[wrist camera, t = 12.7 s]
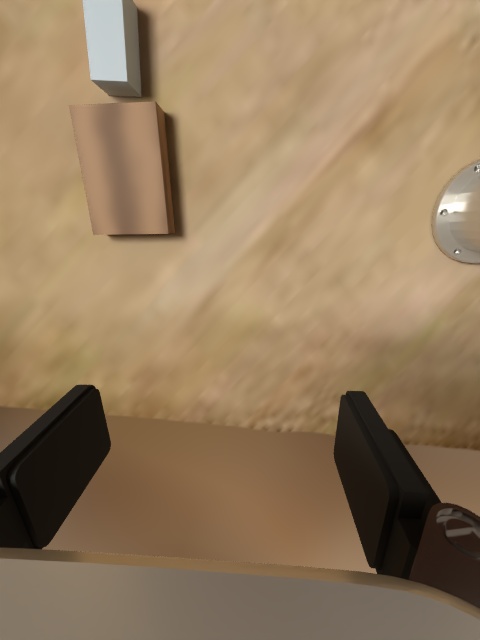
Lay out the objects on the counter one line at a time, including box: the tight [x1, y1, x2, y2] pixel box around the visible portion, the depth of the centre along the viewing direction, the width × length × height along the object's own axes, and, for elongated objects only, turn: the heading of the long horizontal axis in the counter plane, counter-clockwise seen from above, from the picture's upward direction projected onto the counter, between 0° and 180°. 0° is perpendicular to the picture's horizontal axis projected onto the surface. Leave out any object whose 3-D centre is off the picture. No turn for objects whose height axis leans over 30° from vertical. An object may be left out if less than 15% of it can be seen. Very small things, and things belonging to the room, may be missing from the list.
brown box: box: [69, 101, 175, 235], centre depth 34 cm, size 10×14×3 cm
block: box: [83, 0, 142, 97], centre depth 29 cm, size 4×4×8 cm
